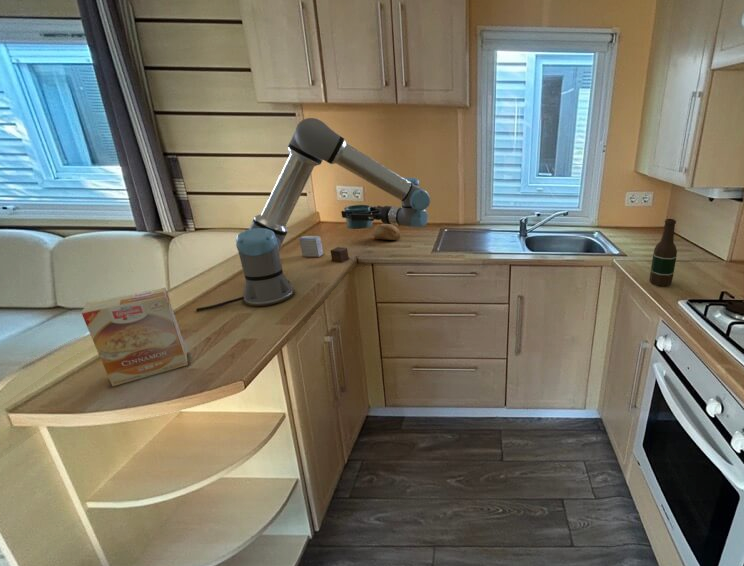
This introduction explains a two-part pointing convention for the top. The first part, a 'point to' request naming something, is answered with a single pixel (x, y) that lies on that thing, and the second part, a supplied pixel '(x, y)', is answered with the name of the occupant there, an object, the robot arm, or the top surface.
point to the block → (339, 254)
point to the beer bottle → (664, 257)
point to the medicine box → (311, 246)
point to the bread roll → (386, 232)
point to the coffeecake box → (135, 335)
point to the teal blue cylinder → (355, 223)
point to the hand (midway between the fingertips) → (351, 211)
